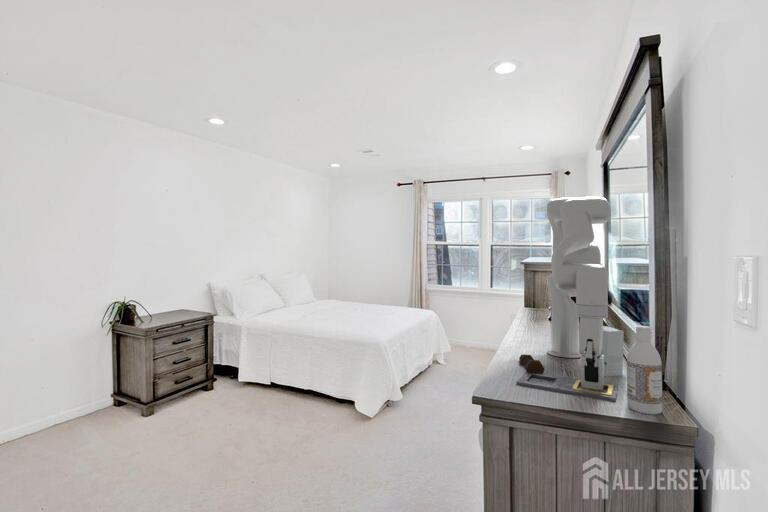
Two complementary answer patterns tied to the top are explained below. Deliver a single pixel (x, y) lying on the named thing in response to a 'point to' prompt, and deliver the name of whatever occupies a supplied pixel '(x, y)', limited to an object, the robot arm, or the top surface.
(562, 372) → the top surface
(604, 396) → the grey slotted board
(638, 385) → the bath foam
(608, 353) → the skincare box
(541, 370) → the bolt
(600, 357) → the brushed steel block
